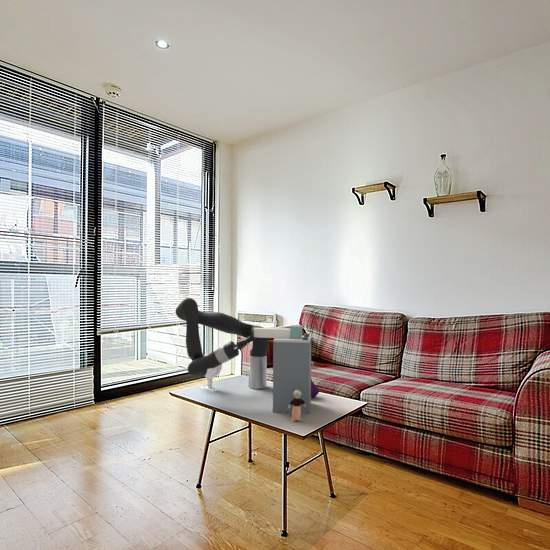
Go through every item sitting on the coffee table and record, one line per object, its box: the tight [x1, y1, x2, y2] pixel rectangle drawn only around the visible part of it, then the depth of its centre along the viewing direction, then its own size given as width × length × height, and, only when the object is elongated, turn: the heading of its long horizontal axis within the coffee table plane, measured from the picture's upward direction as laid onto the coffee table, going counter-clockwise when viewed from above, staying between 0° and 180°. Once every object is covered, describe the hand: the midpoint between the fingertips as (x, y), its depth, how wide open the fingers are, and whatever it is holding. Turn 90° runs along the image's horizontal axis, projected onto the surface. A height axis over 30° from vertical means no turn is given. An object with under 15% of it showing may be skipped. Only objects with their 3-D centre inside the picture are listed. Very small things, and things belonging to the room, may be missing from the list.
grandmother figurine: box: [288, 390, 306, 422], centre depth 170 cm, size 8×4×13 cm, turn 114°
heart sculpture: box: [200, 353, 223, 392], centre depth 219 cm, size 16×5×18 cm, turn 48°
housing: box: [272, 333, 312, 414], centre depth 188 cm, size 16×16×33 cm
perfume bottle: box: [311, 360, 321, 400], centre depth 204 cm, size 8×8×18 cm
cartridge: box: [254, 324, 303, 339], centre depth 189 cm, size 22×6×6 cm, turn 82°
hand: (256, 335), depth 190 cm, fingers open, 8 cm apart
